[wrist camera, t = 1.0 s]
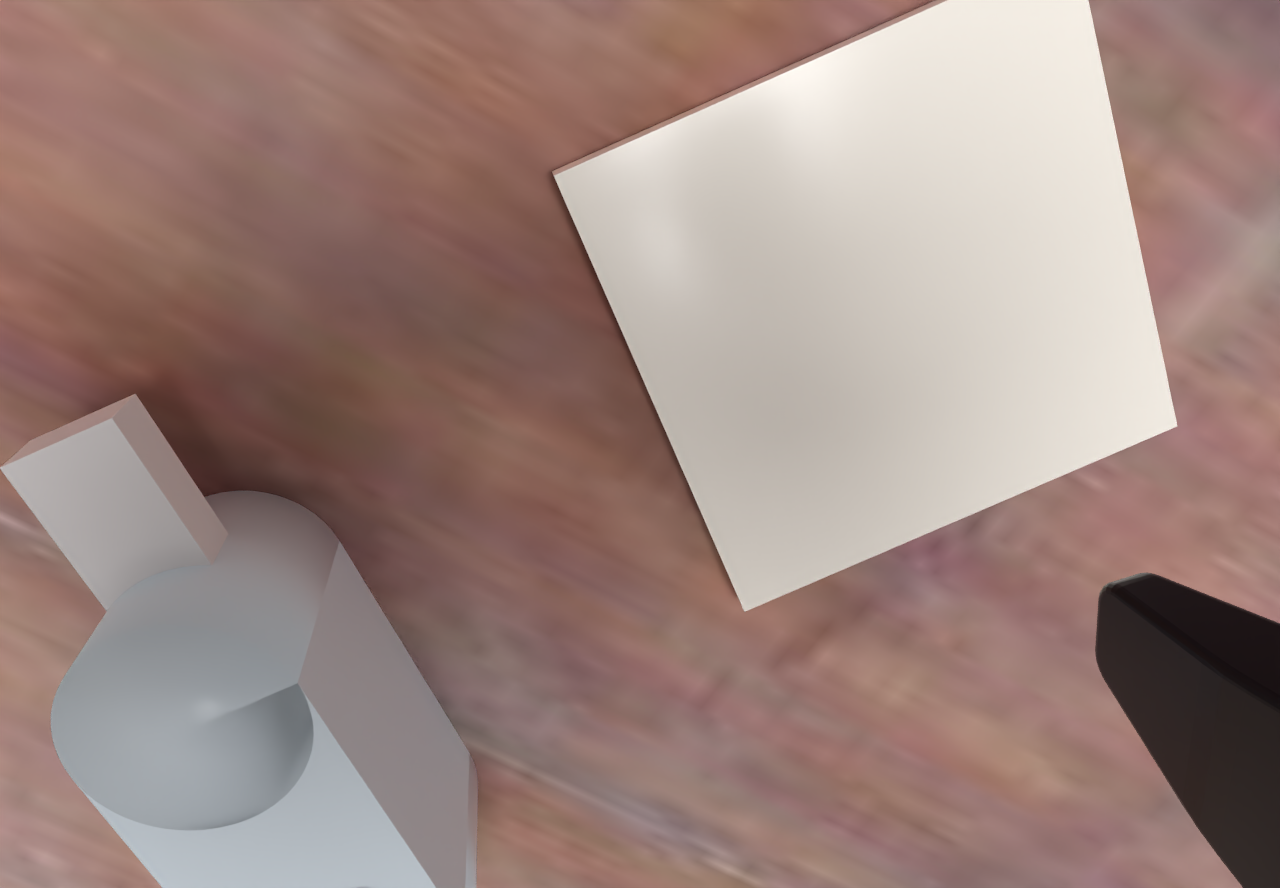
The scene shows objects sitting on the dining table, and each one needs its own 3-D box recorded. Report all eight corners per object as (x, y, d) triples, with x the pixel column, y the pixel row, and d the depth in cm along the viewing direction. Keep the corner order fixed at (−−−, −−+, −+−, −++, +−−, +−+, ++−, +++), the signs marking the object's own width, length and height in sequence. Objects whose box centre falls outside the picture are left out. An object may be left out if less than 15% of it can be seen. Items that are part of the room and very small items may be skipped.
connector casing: (507, 814, 24) (510, 997, 20) (352, 880, 25) (320, 1077, 20) (215, 339, 19) (130, 436, 15) (23, 424, 20) (-121, 547, 15)
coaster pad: (1160, 416, 23) (1177, 426, 22) (738, 597, 23) (744, 612, 22) (1059, -55, 19) (1076, -58, 18) (552, 170, 19) (553, 175, 19)
